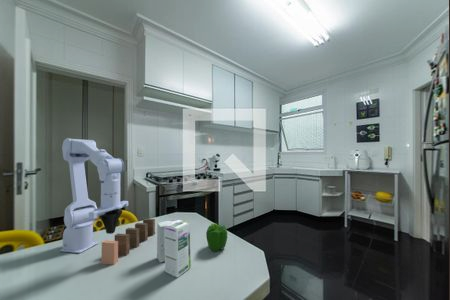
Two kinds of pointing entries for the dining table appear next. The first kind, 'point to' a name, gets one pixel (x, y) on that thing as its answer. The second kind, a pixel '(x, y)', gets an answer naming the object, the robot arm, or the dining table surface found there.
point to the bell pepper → (216, 237)
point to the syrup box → (177, 247)
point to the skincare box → (161, 240)
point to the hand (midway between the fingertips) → (110, 232)
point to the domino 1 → (109, 252)
